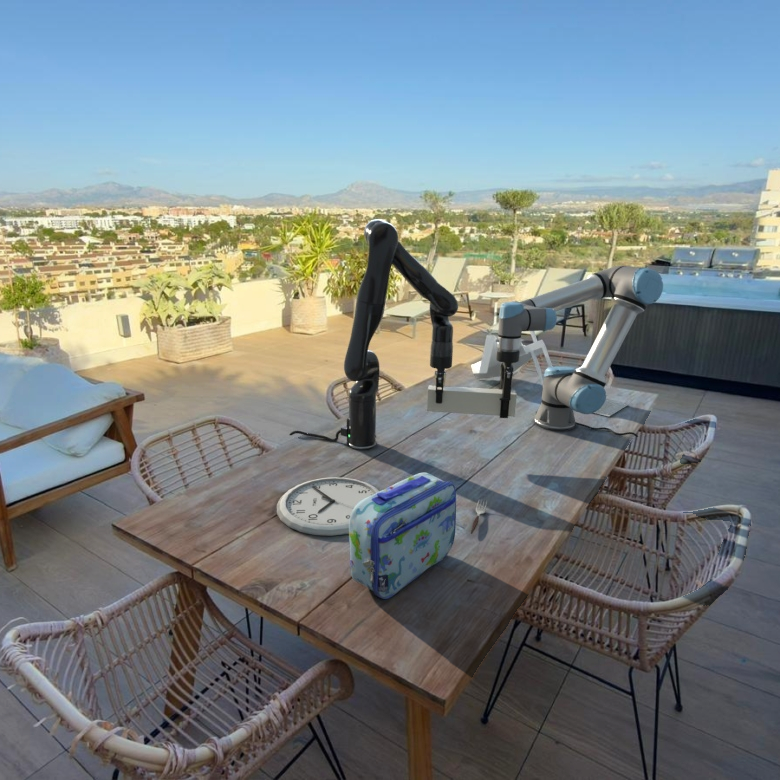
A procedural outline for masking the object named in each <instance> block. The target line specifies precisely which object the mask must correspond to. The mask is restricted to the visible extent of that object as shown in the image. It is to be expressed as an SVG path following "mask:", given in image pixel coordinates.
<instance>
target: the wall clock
mask: <svg viewBox="0 0 780 780" xmlns="http://www.w3.org/2000/svg"><path fill="white" fill-rule="evenodd" d="M380 491H381V490H380V489H379V488H377V487H376V486H374V485H372V484H371V483H369V482H365V481H362V480H359V479H355V478H349V477H338V476H337V477H335V476H333V477H332V476H331V477H322V478H317V479H312V480H307V481H305V482H302V483H299V484H297V485H295V486H293V487H292V488H290V489H288V490H287V491H286V492H285V493H284V494H283V495H281V496H280V498H279V499H278V502H277V503H276V515H277V517H278V518H279V520H280V521H281V522H282V523H283V524H285V525H286V526H287V527H288V528H290V529H293V530H295V531H297V532H299V533H303V534H308V535H312V536H327V537H328V536H329V537H331V536H332V537H333V536H342V535H349V520H350V515H351V513H352V511H353V509H354V507H355V506H356V505H357V504H358V503H359V502H360V501H362V500H363V499H365V498H367V497H370V496H372V495H374V494H376V493H378V492H380Z"/></svg>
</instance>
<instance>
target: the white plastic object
mask: <svg viewBox="0 0 780 780" xmlns="http://www.w3.org/2000/svg"><path fill="white" fill-rule="evenodd" d="M535 332H536V331H529V333H530V336H531V339H532V342H531V343H529V344H527V345H525V344H523V342H522V341H521V345H520V349H519V351H520V354H519V361H518V362H516V363H512V366H513V373H514V372H515V371H517V370H518V369H520V368H521V367H523V366H524V365H525V364H527V363H529V362H530V361H531V360H532V362H533V364H534V367H535V370H536V373H537V376H538V379H539V382H540V385H541V386H542V388H543V382H544V373H543V371H542V369H541V365H540V363H539V359H538V356H540V355H544V358H545V361H546V364H547V368H549V367H554V366H553V362H552V361H551V358H550V354H549V352H548V349H547V346H546V343H545V342H544V340H543V339H540V340H538V338H537V335H536V333H535ZM496 339H498V336H496V335H495V334H486V337H485V342H484V345H483V351H482V355H481V356H482V357H481V360H480V361H477V362H475V363H472V364H471V365H470V367H471V370H472V375H473V376H474V377H475V379H476V380H482V379H490V378H492V379H493V378H501V375H500V374H501V369H500V367H501V363H503V362H499V361H497V359H496V355H497V350H498V349H499V348H497V343H498V342H496Z"/></svg>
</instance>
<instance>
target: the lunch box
mask: <svg viewBox="0 0 780 780" xmlns="http://www.w3.org/2000/svg"><path fill="white" fill-rule="evenodd" d="M456 524H457V489H456V486H455V484H454V483H453V482H452V481H445V480H442V479H440V478H439V477H436V476H434V475H433V474H431V473H429V472H426V471H425V472H424V471H423V472H419V473H416V474H413V475H411V476H409V477H407V478H405V479H403V480H401V481H400V480H399V481H398V482H396V483H395V484H392V485H390V486H388V487H385V488H383V489H382V490H380V492H378V493H376V494H374V495H372V496H370V497H367V498H365V499H363V500H362V501H360V502H359V503H358V504H357V505H356V506H355V507H354V509H353V511H352V513H351V515H350V520H349V534H348V542H349V543H348V544H349V568H350V575H351V577H352V579H353V581H355V582H356V583H359V584H361V585H362V586H364V587H366V588H367V589H369V590H370V591H372V592H373V593H374V595H375V596H377V597H378V598H380V599H384V600H387V599H390V598H392V597H394V596H395V595H396V594H397V593H398V592H400V591H401V590H403V589H404V588H405V587H406V586H407V585H410V584H411V583H412V582H413V581H414V580H416V579H417V578H418V577H419V576H421V575H422V574H423V573H425V571H427V570H428V569H429V568H431V567H433V566H435V565H436V564H438V563H439V562H441V561H442V560H443V559H445V558H446V557H447V556H448V554H449V552H450V551H451V550H452V547H453V545H454V542H455V539H456V538H455V536H456V526H457V525H456Z"/></svg>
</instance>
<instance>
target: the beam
mask: <svg viewBox="0 0 780 780" xmlns="http://www.w3.org/2000/svg"><path fill="white" fill-rule="evenodd" d="M437 389H441V390H442V388H441V387H437ZM435 390H436V386H435V385H430V384H429V385H428V388H427V399H426V401H427V403H426V412H435V413H449V414H467V415H482V416H495V417H497V416H499V417H500V408H501V400H500V398H502V389H498V388H483V387H466V386H450V385H449V386H448V385H445V386H444V387H443V395H442V403H441V404H438V403H436V392H435ZM510 398H511V399H510V400H509V412H508V417H511V418H512V417H513V418H514V417H516V407H517V398H518V393H517V390H515V389H511V397H510Z"/></svg>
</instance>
